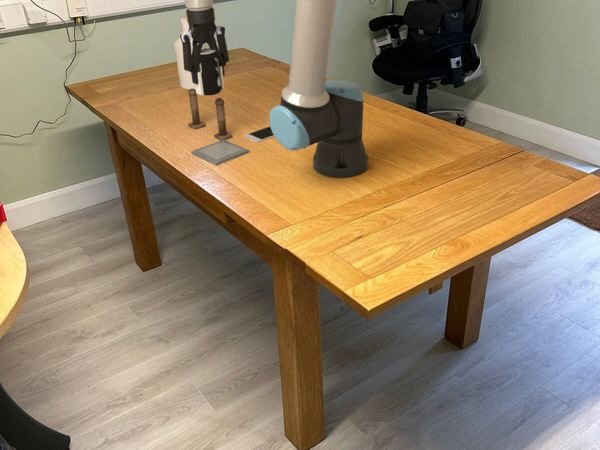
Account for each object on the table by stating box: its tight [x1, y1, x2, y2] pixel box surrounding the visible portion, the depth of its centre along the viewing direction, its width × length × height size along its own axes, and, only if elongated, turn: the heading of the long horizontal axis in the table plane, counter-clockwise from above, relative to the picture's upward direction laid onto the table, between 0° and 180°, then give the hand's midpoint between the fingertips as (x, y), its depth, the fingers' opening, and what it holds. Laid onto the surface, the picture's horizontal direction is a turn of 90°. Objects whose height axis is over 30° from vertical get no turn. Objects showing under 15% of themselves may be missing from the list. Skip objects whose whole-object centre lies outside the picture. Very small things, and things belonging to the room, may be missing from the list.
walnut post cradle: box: [187, 88, 233, 141], centre depth 183 cm, size 18×4×13 cm, turn 44°
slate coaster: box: [190, 139, 250, 166], centre depth 171 cm, size 12×12×1 cm
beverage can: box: [198, 47, 223, 96], centre depth 167 cm, size 7×7×12 cm
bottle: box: [173, 16, 207, 90], centre depth 223 cm, size 12×12×25 cm
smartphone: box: [242, 125, 275, 143], centre depth 184 cm, size 7×15×1 cm, turn 131°
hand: (210, 91), depth 170 cm, fingers closed on beverage can, 7 cm apart
